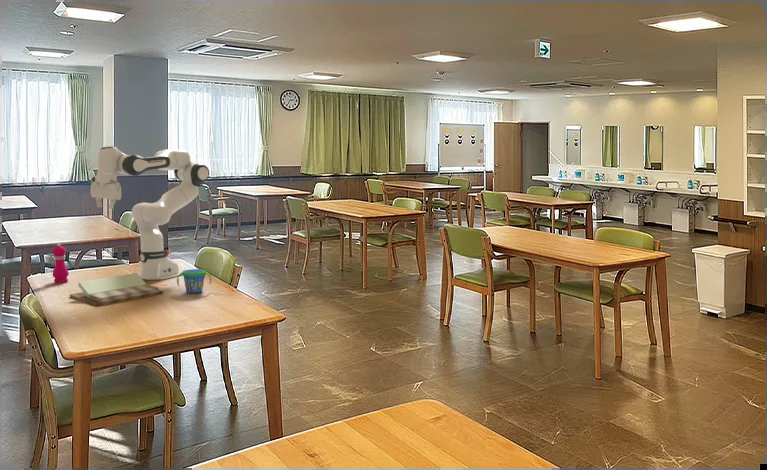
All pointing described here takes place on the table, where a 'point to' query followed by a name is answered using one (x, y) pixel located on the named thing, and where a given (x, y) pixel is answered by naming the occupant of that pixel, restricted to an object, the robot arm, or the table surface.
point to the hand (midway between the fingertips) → (105, 207)
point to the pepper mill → (60, 265)
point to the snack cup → (194, 280)
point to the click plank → (111, 283)
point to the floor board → (85, 299)
